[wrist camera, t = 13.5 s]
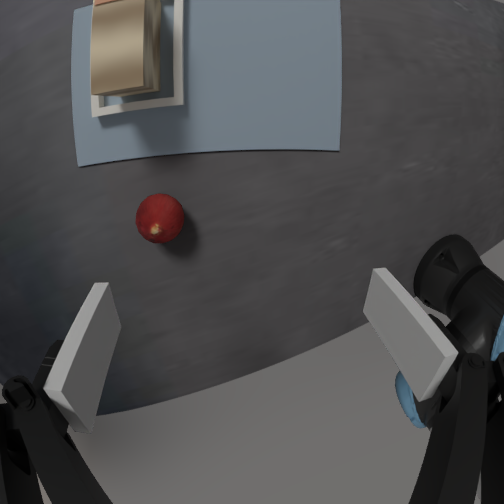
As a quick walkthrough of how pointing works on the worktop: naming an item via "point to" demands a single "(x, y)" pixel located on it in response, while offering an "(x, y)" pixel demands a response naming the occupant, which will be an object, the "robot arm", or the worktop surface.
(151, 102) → the frame
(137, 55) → the block
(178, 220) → the onion
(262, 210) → the worktop surface
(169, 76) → the mat
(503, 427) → the robot arm
